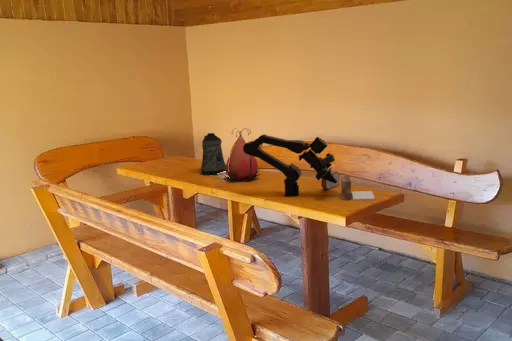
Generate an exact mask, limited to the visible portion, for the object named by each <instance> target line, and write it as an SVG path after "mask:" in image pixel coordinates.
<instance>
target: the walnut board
mask: <svg viewBox="0 0 512 341" xmlns="http://www.w3.org/2000/svg"><path fill="white" fill-rule="evenodd" d="M340 178H341V179H340V180H341V183H340V185H341V199H342V200H343V201H347V200H348V201H349V200H350V201H351V200H352V181H351V176H350V175H341V176H340Z"/></svg>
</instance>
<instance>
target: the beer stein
mask: <svg viewBox="0 0 512 341" xmlns="http://www.w3.org/2000/svg"><path fill="white" fill-rule="evenodd" d="M222 141H223V140H222V139H221V138H220V137H219V136H217V135H216V134H215V133H214V132H209V133H207V134H206V135H204V137H203V139H202V141H201V143H202V144H201V145H202V147H201V148H202V159H201V160H202V161H201V166H200V172H201V174H202V175H203V176H210V175H213V176H217V175H216V174H217V173H220V172H223V171H225V168H226V162H225V159H224V154H223V149H222ZM224 167H225V168H224Z"/></svg>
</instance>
